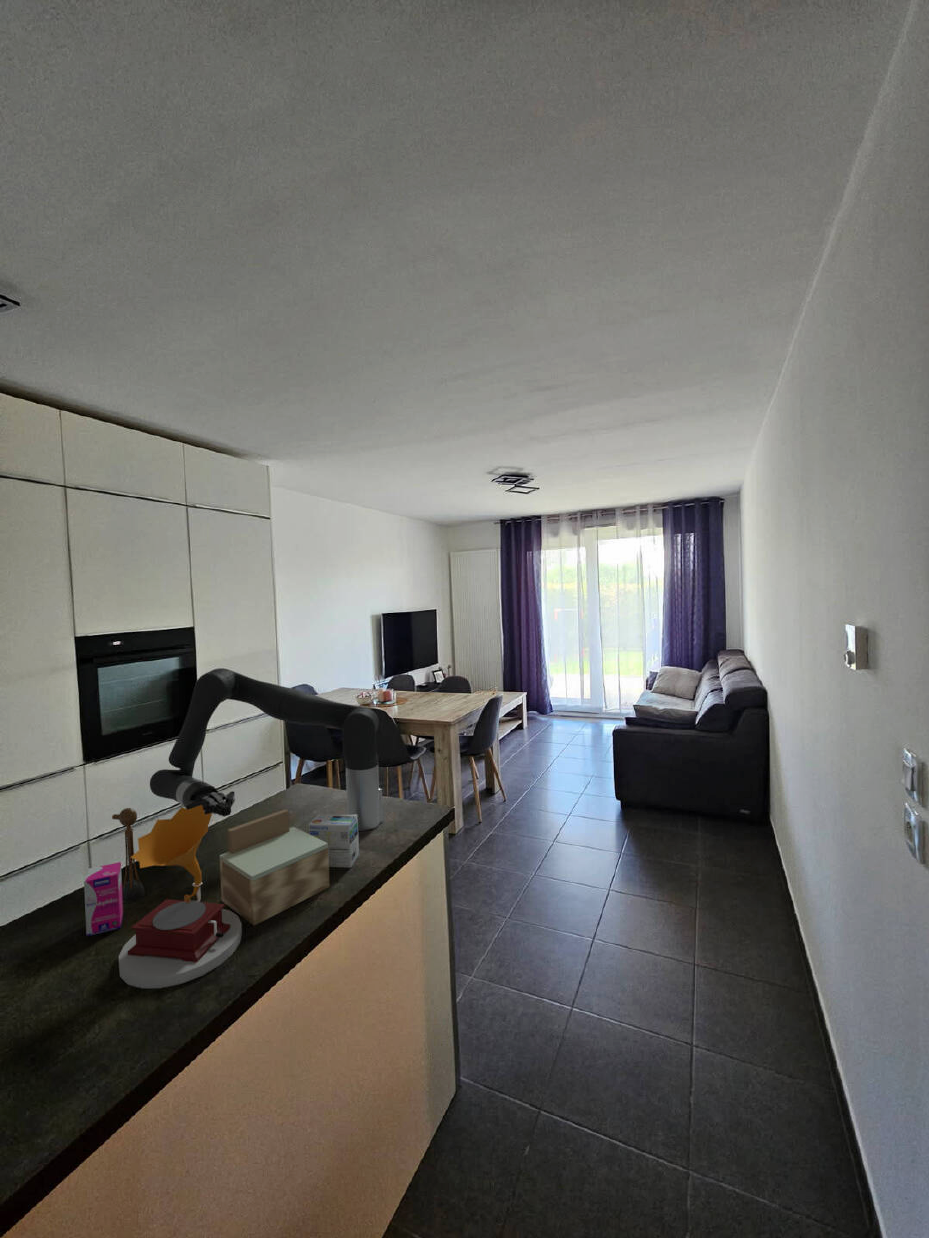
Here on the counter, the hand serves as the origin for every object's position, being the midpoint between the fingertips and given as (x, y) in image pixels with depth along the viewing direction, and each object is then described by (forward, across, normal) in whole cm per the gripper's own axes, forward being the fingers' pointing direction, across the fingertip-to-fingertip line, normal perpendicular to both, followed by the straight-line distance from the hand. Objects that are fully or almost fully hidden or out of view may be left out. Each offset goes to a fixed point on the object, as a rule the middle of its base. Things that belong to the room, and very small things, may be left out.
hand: (227, 811), depth 132 cm
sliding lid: (+22, 0, +4) cm, 22 cm away
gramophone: (+25, -21, +13) cm, 35 cm away
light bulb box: (+20, +17, +13) cm, 29 cm away
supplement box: (+4, -28, +13) cm, 31 cm away
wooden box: (+22, 0, +13) cm, 25 cm away
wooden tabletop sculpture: (-3, -21, +13) cm, 25 cm away
